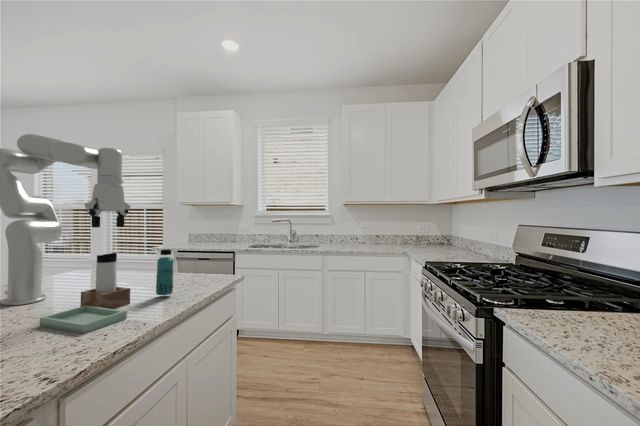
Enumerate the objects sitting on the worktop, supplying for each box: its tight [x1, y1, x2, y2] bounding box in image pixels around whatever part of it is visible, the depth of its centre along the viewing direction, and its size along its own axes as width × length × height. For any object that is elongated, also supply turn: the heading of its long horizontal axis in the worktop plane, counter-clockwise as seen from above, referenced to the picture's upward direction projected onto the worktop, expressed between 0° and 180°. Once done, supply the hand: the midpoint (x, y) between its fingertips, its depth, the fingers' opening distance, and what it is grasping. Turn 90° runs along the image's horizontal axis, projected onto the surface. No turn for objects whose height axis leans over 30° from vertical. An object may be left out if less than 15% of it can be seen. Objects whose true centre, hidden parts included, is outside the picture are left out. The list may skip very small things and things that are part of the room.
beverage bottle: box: [155, 248, 175, 296], centre depth 130 cm, size 6×7×20 cm
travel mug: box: [95, 252, 118, 294], centre depth 115 cm, size 6×7×20 cm
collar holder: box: [80, 286, 131, 309], centre depth 115 cm, size 11×10×6 cm
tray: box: [39, 305, 128, 335], centre depth 98 cm, size 18×14×2 cm
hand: (108, 226), depth 115 cm, fingers open, 9 cm apart
